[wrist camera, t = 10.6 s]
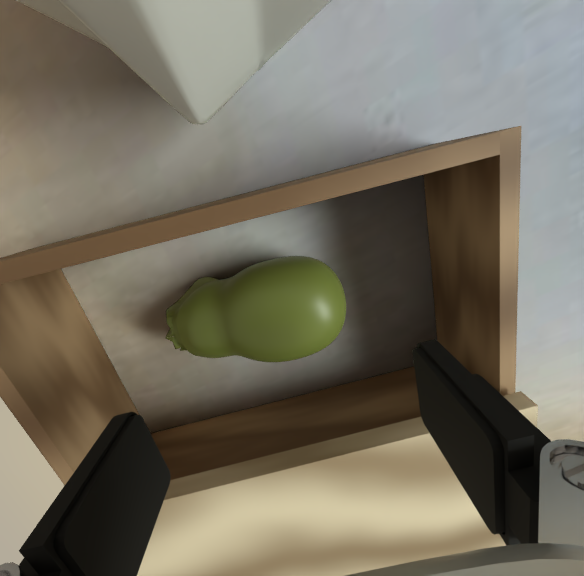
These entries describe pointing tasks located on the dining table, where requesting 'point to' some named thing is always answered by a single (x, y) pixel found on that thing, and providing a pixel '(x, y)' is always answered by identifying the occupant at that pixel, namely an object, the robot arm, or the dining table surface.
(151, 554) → the lid
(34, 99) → the dining table surface
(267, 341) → the pear
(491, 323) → the wooden box
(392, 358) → the dining table surface
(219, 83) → the vase
